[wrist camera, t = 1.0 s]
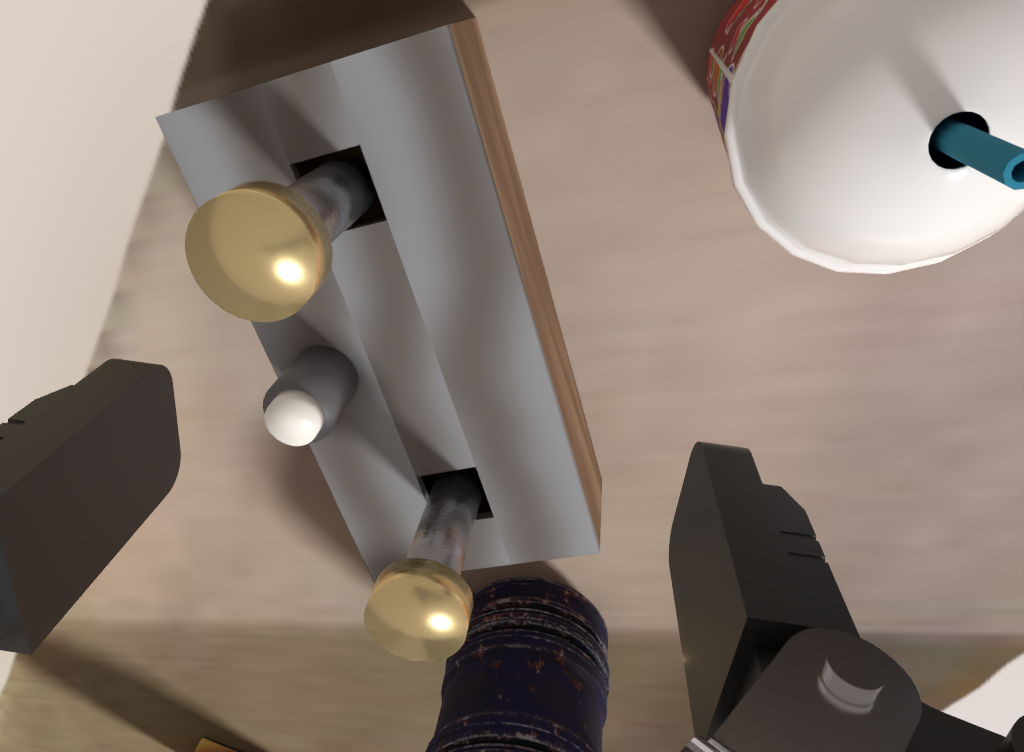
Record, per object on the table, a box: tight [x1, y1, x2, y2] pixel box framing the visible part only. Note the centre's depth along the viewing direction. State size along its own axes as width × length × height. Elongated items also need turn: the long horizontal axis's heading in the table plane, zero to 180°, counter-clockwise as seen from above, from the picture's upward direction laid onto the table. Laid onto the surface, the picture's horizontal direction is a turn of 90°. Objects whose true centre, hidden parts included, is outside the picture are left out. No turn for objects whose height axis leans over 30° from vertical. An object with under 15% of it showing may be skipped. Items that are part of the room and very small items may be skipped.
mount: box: [156, 17, 602, 582], centre depth 35 cm, size 12×24×6 cm, turn 16°
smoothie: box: [706, 0, 1024, 274], centre depth 21 cm, size 8×8×20 cm
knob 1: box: [185, 155, 377, 322], centre depth 26 cm, size 4×4×9 cm
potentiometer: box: [263, 346, 358, 446], centre depth 31 cm, size 3×3×4 cm
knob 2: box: [364, 467, 484, 662], centre depth 32 cm, size 4×4×9 cm
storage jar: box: [426, 577, 609, 752], centre depth 41 cm, size 10×10×15 cm
